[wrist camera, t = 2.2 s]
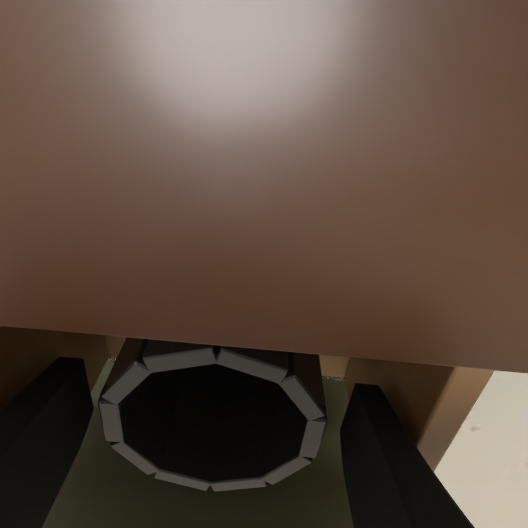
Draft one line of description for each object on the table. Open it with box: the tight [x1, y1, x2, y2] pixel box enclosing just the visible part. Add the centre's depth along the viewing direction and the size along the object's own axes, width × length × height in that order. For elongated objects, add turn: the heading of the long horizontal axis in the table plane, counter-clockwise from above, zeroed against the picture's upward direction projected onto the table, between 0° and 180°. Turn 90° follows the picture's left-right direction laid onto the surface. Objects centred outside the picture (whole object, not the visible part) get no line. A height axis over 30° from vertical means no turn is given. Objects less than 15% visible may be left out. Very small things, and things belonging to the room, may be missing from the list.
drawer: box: [0, 326, 494, 528], centre depth 12 cm, size 18×12×7 cm
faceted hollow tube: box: [98, 337, 328, 492], centre depth 12 cm, size 6×6×5 cm
